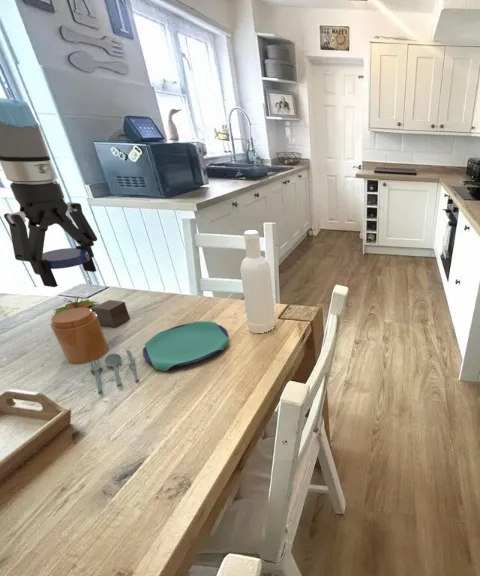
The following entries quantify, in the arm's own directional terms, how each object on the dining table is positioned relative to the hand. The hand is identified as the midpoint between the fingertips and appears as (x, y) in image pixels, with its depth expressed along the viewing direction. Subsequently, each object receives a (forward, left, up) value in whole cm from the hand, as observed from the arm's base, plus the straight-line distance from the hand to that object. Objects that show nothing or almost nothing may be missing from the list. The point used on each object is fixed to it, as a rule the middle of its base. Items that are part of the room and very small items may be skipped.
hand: (71, 277), depth 79 cm
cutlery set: (+21, 0, -19) cm, 29 cm away
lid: (0, 0, +6) cm, 6 cm away
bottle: (+38, +18, -19) cm, 46 cm away
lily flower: (-20, +13, -19) cm, 31 cm away
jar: (+2, -4, -19) cm, 20 cm away
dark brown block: (-4, +10, -19) cm, 22 cm away
